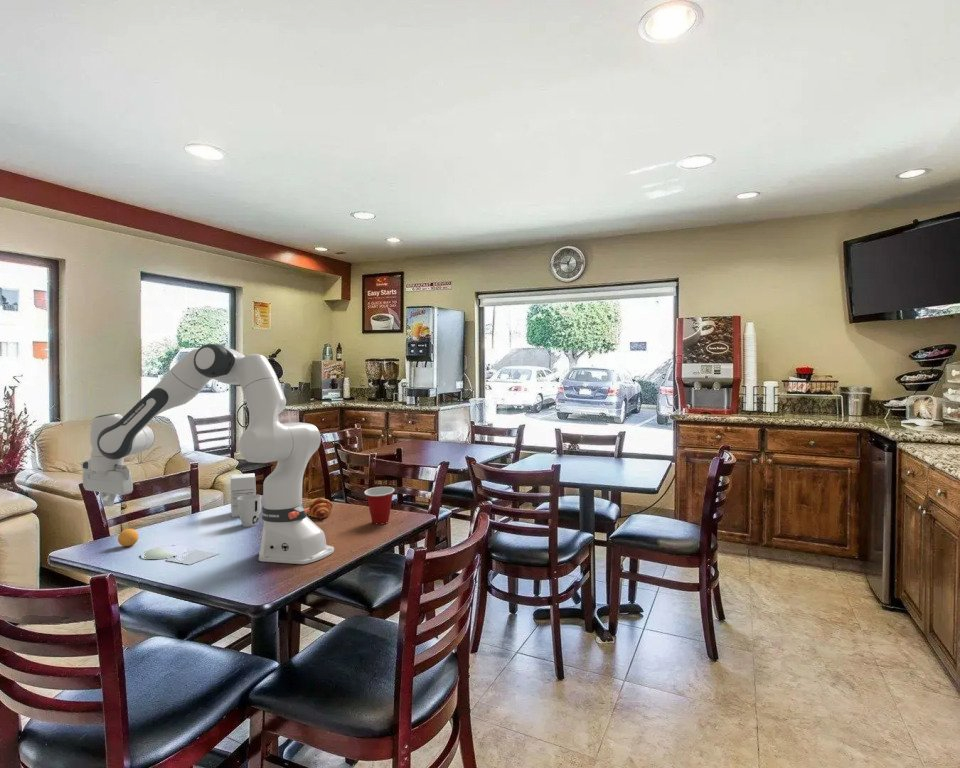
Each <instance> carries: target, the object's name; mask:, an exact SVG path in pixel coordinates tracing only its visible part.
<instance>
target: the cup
mask: <svg viewBox="0 0 960 768" xmlns="http://www.w3.org/2000/svg"><path fill="white" fill-rule="evenodd" d="M262 499H263V498H262V495H261V494H256V495H245V496H241V497H238V498H237V501H238V511H239V519H240V523H241V524H242V527H247V528H248V527H255V526H257V525H258V524H259V520H260V517H261V513H262Z"/></svg>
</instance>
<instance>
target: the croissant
mask: <svg viewBox="0 0 960 768" xmlns="http://www.w3.org/2000/svg"><path fill="white" fill-rule="evenodd" d="M304 507H305V509H306V508H309V509H308V510H310V511H308V510H307V511H308V512H306V513H307V514H308V515H307V517H310V516H311V517H310V518H315V519H324V518H327V517H329V516H330V514H331V511H332V509H333V503H332V502H331V501H330V500H329V499H326V498H324V497H317V498H316V497H315V498H313V499H310V500H309V501H308V502H307V503H306V505H305V506H304Z"/></svg>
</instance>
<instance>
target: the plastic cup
mask: <svg viewBox="0 0 960 768" xmlns="http://www.w3.org/2000/svg"><path fill="white" fill-rule="evenodd" d="M394 492H395V488H394V487H391V486H376V487H370V488H368V489H366V490H365V491H364V495H365V497H366V500H367V503H368V508H369V514H370V517H371V518H370V519H371V523H372V522H373V523H377V524H376V525H382V524H381V523H386V522H388V523H389V520H390V514H391V509H392V500H393V495H394ZM373 523H372V524H373ZM386 524H387V523H386Z"/></svg>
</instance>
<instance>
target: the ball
mask: <svg viewBox="0 0 960 768" xmlns="http://www.w3.org/2000/svg"><path fill="white" fill-rule="evenodd" d="M138 540H139V533H138V532H137V530H135V529H133V528H126V529H123V530H122V531H121V532H120V533H119V534H118V536H117V542H118V543H119V545H121V546H122V547H125V546H129V547H132V546H134V545H135V544H136V543H137V542H138ZM131 545H132V546H131Z"/></svg>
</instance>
